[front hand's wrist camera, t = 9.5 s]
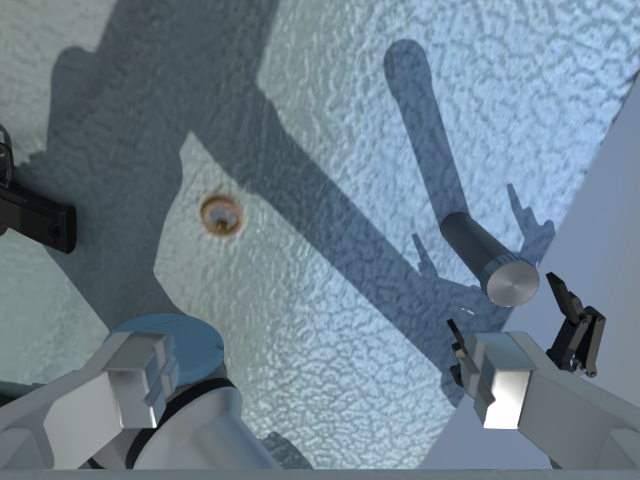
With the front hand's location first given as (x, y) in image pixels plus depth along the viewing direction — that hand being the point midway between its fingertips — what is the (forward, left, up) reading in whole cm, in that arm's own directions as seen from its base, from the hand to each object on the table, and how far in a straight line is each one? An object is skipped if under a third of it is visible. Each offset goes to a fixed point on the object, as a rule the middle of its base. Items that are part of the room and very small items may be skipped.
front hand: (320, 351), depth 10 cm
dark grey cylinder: (+3, +21, -39) cm, 45 cm away
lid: (+3, +21, -24) cm, 32 cm away
